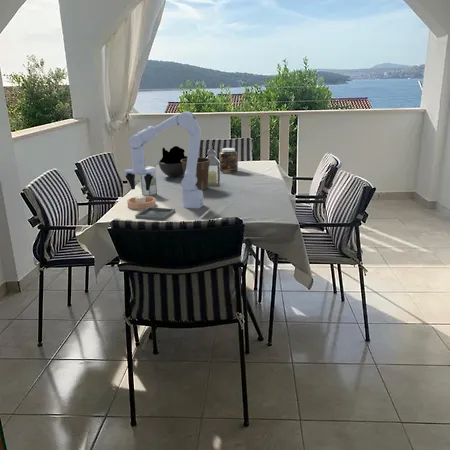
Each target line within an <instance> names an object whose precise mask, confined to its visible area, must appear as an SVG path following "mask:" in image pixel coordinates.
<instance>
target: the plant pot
mask: <svg viewBox="0 0 450 450" xmlns="http://www.w3.org/2000/svg"><path fill="white" fill-rule="evenodd" d="M181 162H182V168H183V171H184V175H185V171H186V165H187V159H182V160H181ZM210 162H211V158H208V157H198V160H197V167H196V177H197V183H196V184H195V185H196V186H197V189H199V190H202V191H206V190H207V189H208V187H209V170H210ZM184 175H183V176H184Z"/></svg>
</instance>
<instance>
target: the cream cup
mask: <svg viewBox="0 0 450 450" xmlns="http://www.w3.org/2000/svg"><path fill="white" fill-rule="evenodd" d="M144 196H145V195H141V196H135V197H136V198H135V199H136V203H146V197H144Z"/></svg>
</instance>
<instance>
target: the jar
mask: <svg viewBox="0 0 450 450" xmlns="http://www.w3.org/2000/svg"><path fill="white" fill-rule="evenodd" d="M238 154H239V153H238V151H236V148H234V147H224V148H222V149H221V151H220V152H219V153H218V155H219V156H218V157H219V159H218V160H219V161H220V168H219V172H220V171H221V172H224V173H223V174H234V173H233V172H236V173H238V172H239V168H238V167H239V156H238ZM237 171H238V172H237Z"/></svg>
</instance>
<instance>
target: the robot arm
mask: <svg viewBox="0 0 450 450" xmlns="http://www.w3.org/2000/svg"><path fill="white" fill-rule="evenodd" d="M172 126H174V127H175V126H177V127H179V126H180V127H181V128H184V129H185V130H186V131H187V132H188V134H189V145H188V151H187V165H186V171H185V175H183V178H182V180H181V182H180V183H181V184H180V186H181V192H182V193H181V196H182V198H181V199H182V207H183V208H185V209H201V208H202V207H203V206H204V190H199V189H197V186H196V185H195V184H196V183H197V177H196V167H197V160H198V158H199V153H200V146H201V139H202V129H201V127H200V124H199V121H198V119H197V117H196V115H195V114H194V113H192V111H189V110H186V111H183V112H181V113H178V114H175V115H172V116H170V117H168V118H167V119H165V120H164V121H162V122H161V123H159V124H157V125H155V126H152V125H146V126H145V128H144V129H143V130H141V131H136V133H135V134H134V135H131V136H130V137H129V138H128V144H129V146H130V155H131V165H132V168H131V169H124V170H123V171H124V175H125V179H126V180H127V181H128V182H129V186H130V188H131V190H132V191H133V190H135V189H136V182H135V179H136V175H139V176H141V175H146V176H144V179H145V183H146V191H148V190H150V184H151V180H152V178H153V175H154V171H152V170H145V167H146V165H145V151H144V145H146V144H147V143H149V142H151V141H152V140H154V139H156V138H158V136H159V133H161V132H163V131H164V130H166V129H168V128H171V127H172Z"/></svg>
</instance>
